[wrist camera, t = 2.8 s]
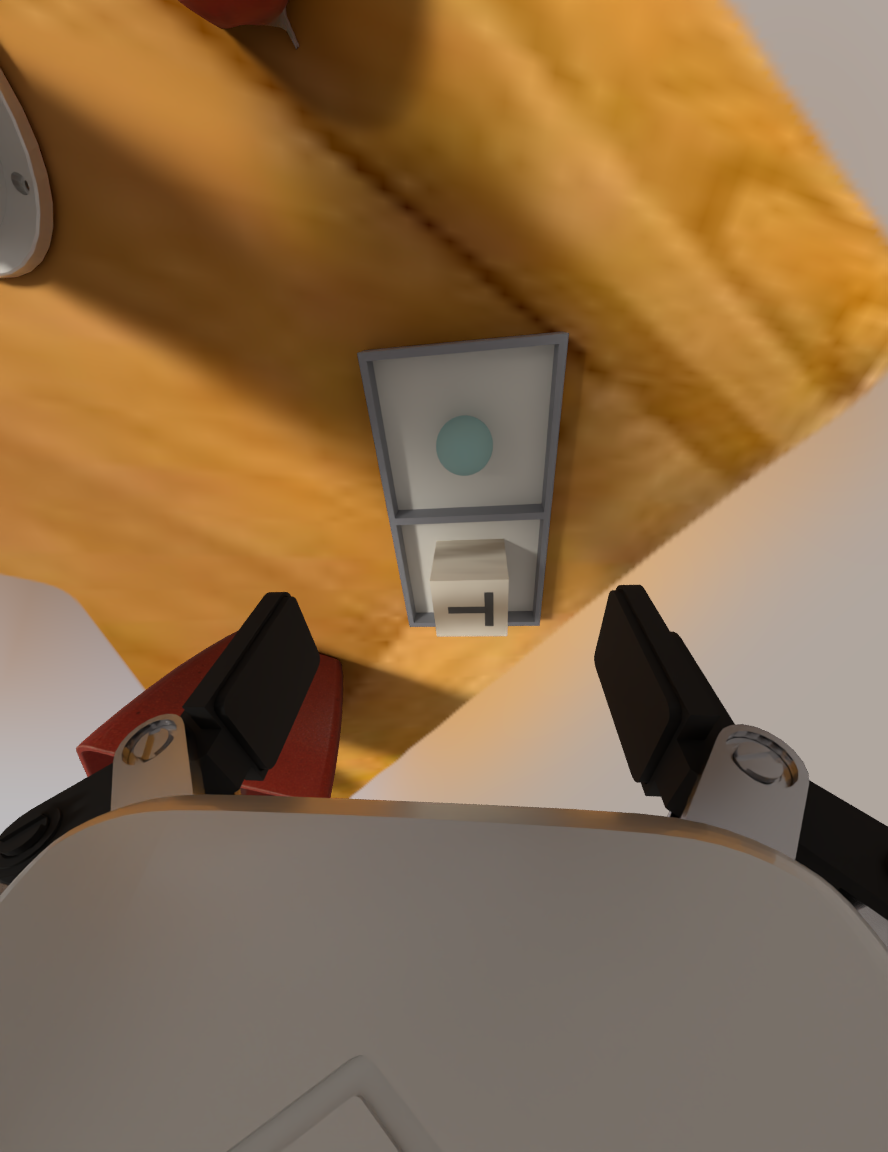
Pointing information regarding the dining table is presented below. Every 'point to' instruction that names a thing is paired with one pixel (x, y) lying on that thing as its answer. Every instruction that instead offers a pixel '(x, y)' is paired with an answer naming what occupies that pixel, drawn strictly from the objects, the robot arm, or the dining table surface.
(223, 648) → the plant pot
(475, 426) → the teal ball
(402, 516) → the compartment box
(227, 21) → the fruit
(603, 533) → the dining table surface
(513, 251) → the dining table surface
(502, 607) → the letter cube
